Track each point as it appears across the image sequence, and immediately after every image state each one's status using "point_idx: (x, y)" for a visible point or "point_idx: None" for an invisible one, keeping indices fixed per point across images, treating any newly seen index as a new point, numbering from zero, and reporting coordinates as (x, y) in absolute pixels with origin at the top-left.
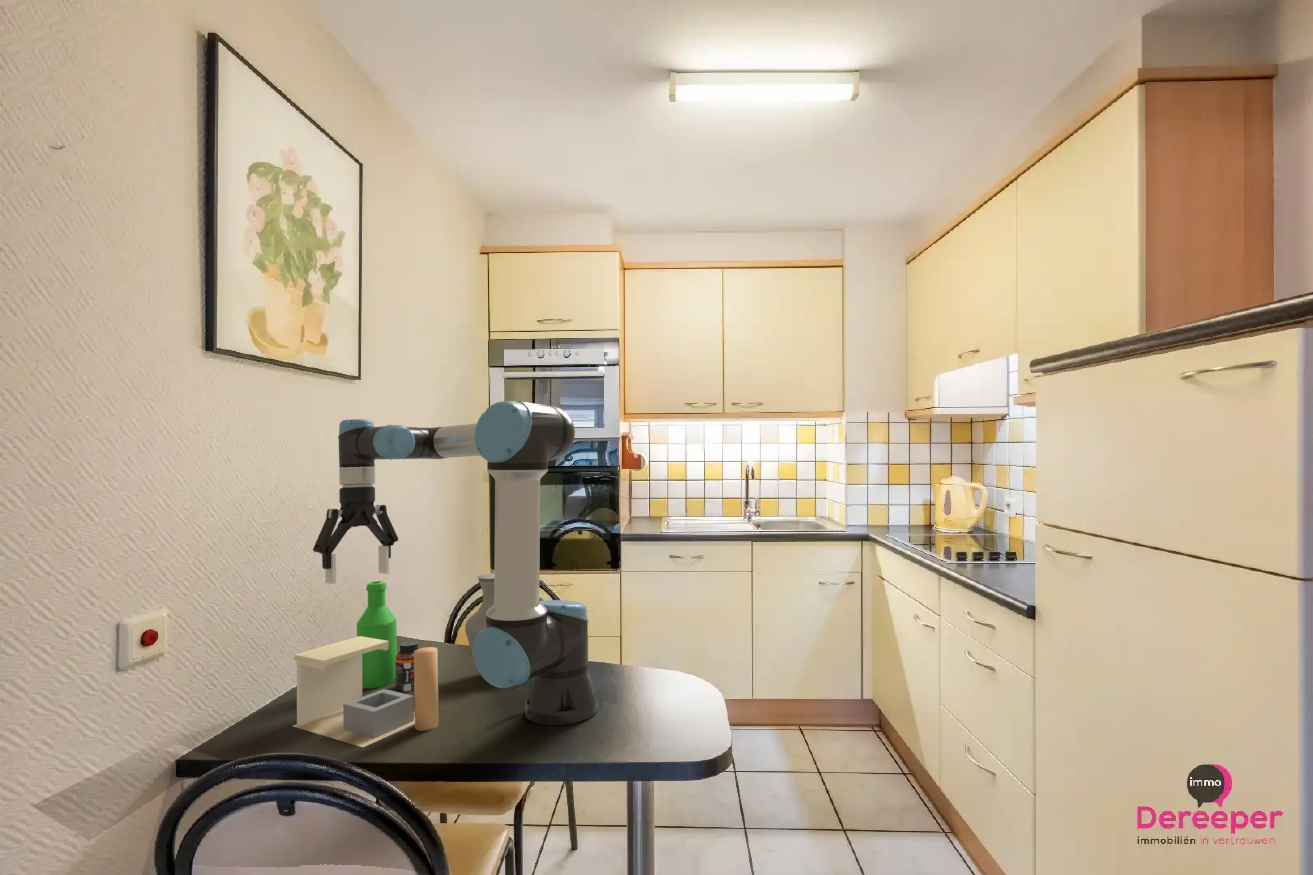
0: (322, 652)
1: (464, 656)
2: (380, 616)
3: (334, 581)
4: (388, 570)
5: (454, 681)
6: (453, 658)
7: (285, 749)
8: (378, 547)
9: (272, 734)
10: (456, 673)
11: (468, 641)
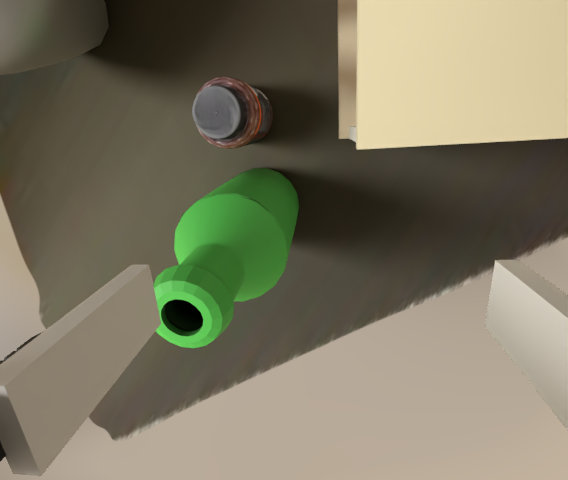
0: (557, 66)
1: (55, 202)
2: (236, 217)
3: (515, 264)
4: (124, 272)
5: (155, 80)
6: (77, 213)
7: None
8: (52, 460)
9: (515, 152)
10: (124, 122)
11: (73, 24)
